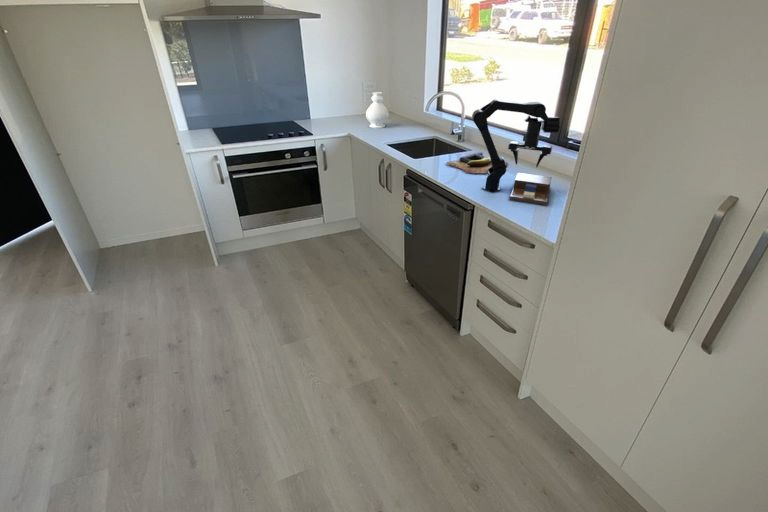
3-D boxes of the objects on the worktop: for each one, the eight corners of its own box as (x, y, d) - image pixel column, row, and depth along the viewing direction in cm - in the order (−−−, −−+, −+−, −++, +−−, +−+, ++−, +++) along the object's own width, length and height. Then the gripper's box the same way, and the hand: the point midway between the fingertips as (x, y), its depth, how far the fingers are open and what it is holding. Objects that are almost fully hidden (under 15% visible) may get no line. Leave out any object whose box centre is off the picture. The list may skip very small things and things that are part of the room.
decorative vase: (377, 129, 304) (377, 95, 292) (361, 126, 314) (360, 92, 302) (392, 126, 316) (393, 92, 303) (376, 123, 326) (376, 90, 313)
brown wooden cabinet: (545, 205, 177) (548, 193, 174) (509, 200, 182) (511, 187, 179) (548, 188, 196) (551, 177, 193) (515, 184, 201) (517, 172, 198)
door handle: (500, 157, 233) (478, 150, 243) (479, 164, 222) (457, 156, 232) (498, 163, 235) (477, 155, 245) (478, 169, 224) (456, 161, 233)
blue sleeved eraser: (533, 198, 179) (535, 190, 177) (523, 196, 180) (524, 188, 178) (535, 192, 186) (537, 183, 184) (525, 190, 188) (526, 182, 186)
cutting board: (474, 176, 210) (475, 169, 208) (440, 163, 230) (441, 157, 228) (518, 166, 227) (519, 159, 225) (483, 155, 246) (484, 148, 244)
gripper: (556, 130, 182) (548, 164, 190) (514, 126, 188) (509, 158, 196) (554, 135, 173) (546, 170, 181) (511, 131, 180) (505, 164, 187)
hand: (526, 165), depth 187 cm, fingers open, 9 cm apart
